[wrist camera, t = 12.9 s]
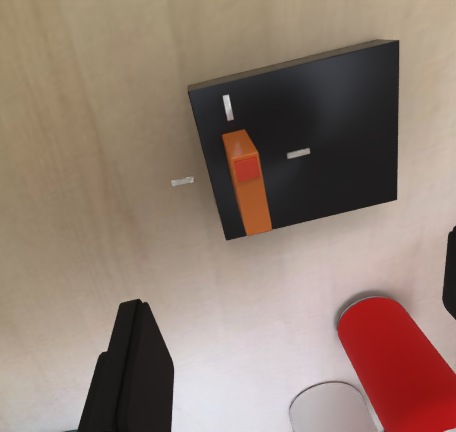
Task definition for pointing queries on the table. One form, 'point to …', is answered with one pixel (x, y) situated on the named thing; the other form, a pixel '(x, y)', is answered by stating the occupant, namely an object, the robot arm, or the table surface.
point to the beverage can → (398, 367)
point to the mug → (331, 410)
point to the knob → (247, 182)
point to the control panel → (306, 132)
